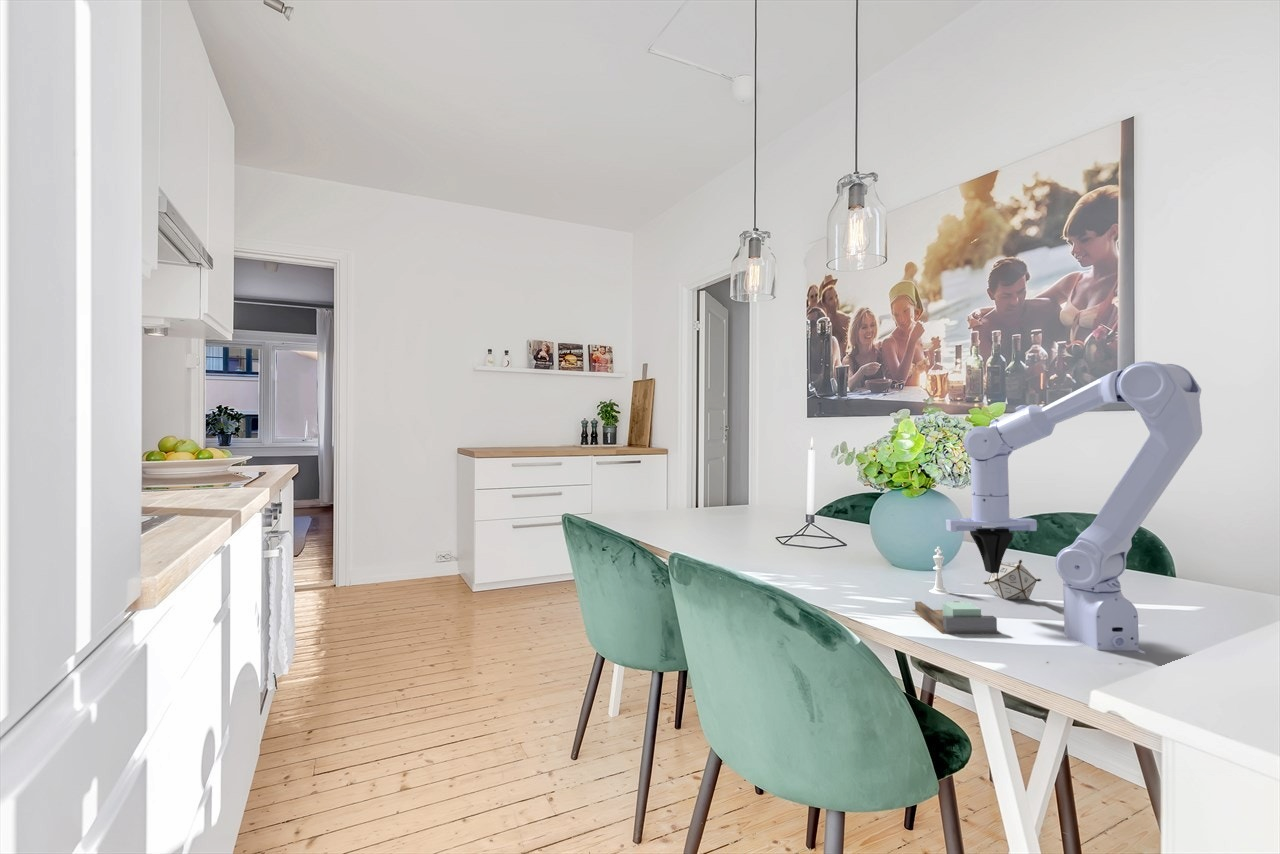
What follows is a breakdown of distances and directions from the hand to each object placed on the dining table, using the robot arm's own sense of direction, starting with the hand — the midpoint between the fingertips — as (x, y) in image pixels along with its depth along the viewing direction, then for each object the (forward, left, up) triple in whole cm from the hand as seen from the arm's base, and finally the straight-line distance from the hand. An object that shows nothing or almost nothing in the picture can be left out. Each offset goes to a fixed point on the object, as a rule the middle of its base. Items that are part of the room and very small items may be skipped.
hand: (991, 571), depth 107 cm
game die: (+11, -9, -9) cm, 17 cm away
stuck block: (-7, +9, -7) cm, 13 cm away
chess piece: (+15, +3, -9) cm, 18 cm away
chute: (-4, +9, -8) cm, 13 cm away
